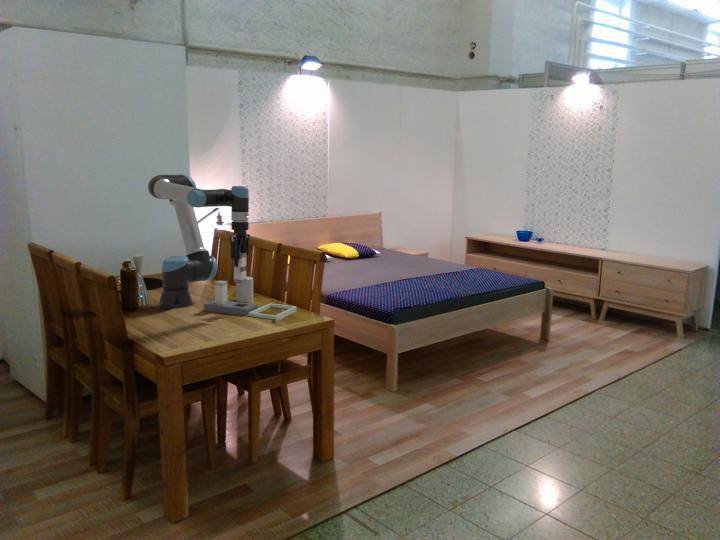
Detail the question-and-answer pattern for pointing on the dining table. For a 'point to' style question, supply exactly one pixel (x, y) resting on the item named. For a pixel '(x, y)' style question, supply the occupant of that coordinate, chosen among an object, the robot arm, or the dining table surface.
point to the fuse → (221, 292)
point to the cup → (245, 291)
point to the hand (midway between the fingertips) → (240, 272)
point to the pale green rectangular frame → (276, 317)
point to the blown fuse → (241, 269)
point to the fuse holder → (230, 307)
